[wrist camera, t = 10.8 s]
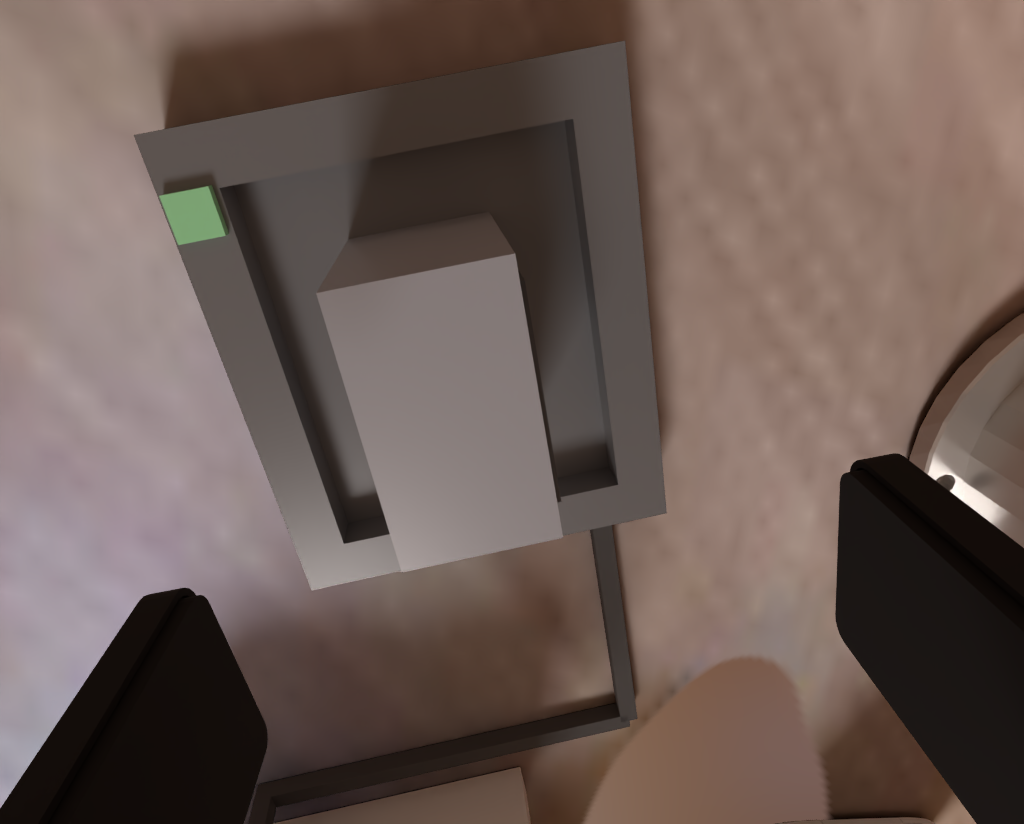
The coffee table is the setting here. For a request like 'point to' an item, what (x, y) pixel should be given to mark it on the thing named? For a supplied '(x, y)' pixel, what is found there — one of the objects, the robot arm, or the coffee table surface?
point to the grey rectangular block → (445, 388)
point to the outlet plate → (441, 804)
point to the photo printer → (867, 821)
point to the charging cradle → (406, 203)
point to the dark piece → (483, 743)
